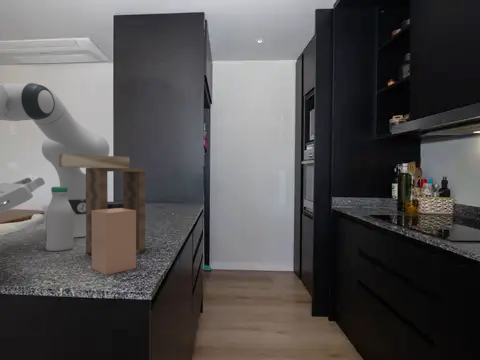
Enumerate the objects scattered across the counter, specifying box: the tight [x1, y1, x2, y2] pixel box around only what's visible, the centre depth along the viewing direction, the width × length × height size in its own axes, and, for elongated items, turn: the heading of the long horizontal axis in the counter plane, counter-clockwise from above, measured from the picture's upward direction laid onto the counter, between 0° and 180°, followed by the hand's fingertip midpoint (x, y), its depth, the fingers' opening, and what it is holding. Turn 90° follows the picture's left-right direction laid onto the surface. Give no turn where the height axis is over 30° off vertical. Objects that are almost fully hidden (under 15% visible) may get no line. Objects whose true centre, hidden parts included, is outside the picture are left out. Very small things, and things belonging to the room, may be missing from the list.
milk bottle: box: [45, 186, 74, 252], centre depth 107 cm, size 8×8×20 cm
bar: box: [59, 154, 131, 169], centre depth 97 cm, size 4×19×4 cm, turn 136°
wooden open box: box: [85, 167, 146, 258], centre depth 102 cm, size 10×14×26 cm
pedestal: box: [91, 208, 137, 276], centre depth 86 cm, size 8×8×15 cm
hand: (36, 180), depth 86 cm, fingers open, 8 cm apart
